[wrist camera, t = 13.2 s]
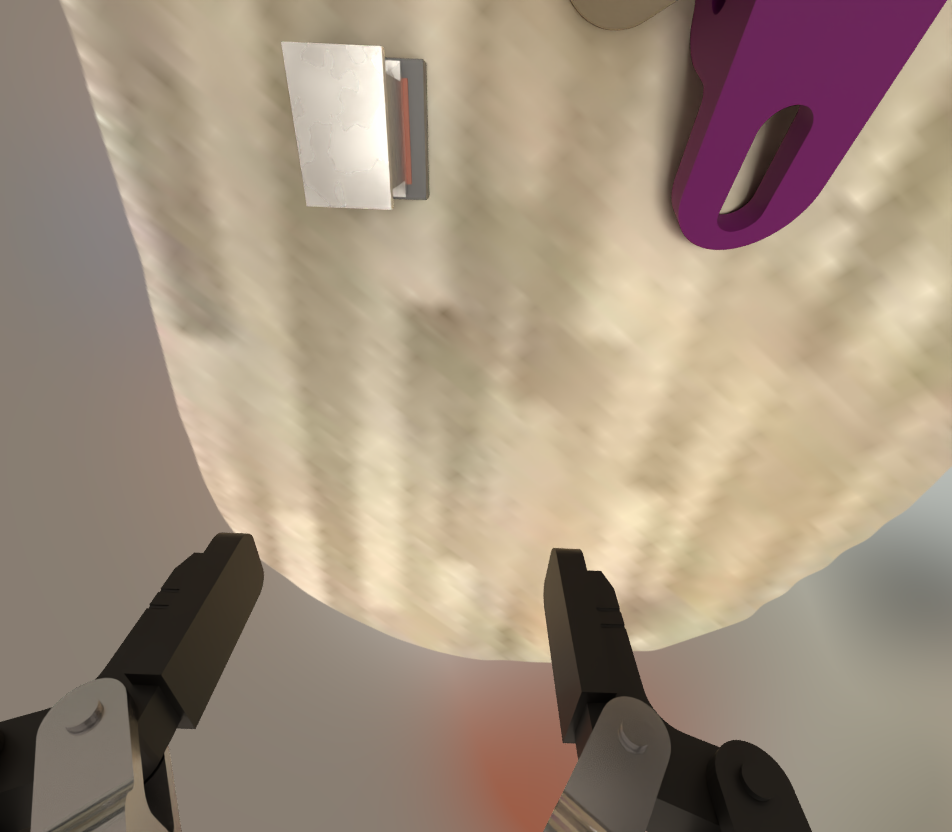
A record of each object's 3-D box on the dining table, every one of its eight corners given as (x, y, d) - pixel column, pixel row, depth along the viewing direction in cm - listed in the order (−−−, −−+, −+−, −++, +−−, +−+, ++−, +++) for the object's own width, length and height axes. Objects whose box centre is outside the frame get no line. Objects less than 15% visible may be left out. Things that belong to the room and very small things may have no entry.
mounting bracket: (748, 182, 38) (918, -154, 23) (784, 247, 34) (1023, -115, 18) (638, 188, 39) (732, -141, 23) (660, 252, 34) (793, -99, 19)
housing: (321, 58, 27) (281, 41, 22) (401, 62, 28) (381, 46, 22) (337, 192, 32) (307, 206, 26) (407, 195, 32) (391, 209, 26)
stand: (305, 58, 29) (293, 53, 27) (426, 63, 29) (422, 58, 27) (324, 192, 34) (315, 196, 32) (429, 196, 34) (426, 200, 32)
